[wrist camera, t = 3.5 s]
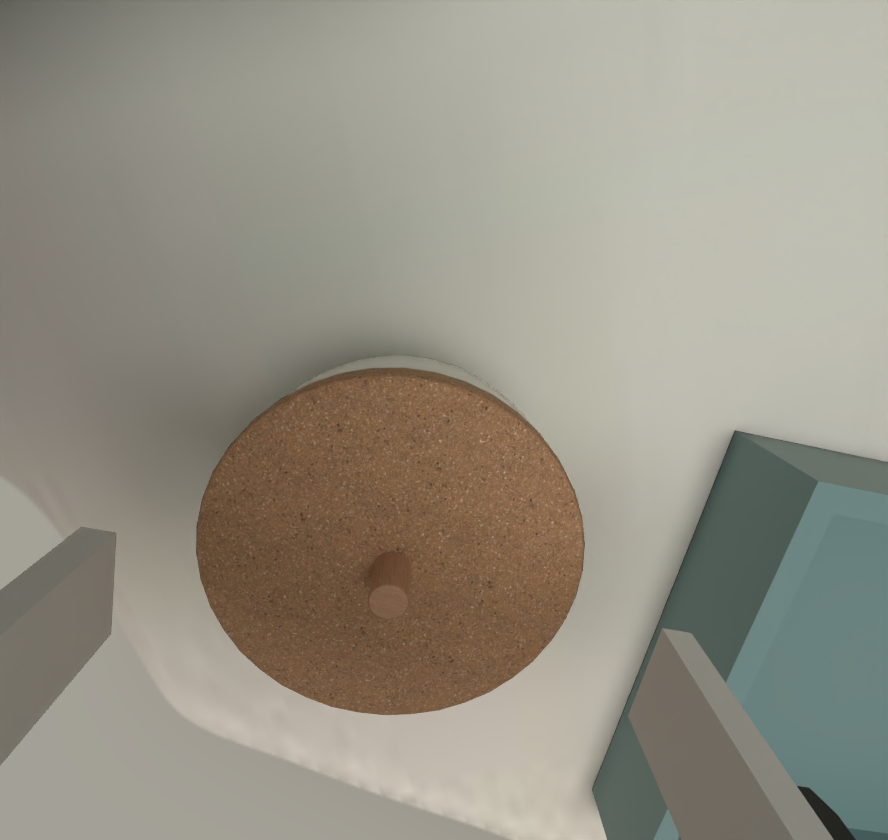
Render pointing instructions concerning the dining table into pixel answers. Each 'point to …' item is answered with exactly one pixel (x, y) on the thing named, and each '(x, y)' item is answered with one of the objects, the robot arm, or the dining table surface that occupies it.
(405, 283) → the dining table surface
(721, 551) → the tote
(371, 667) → the lidded jar
